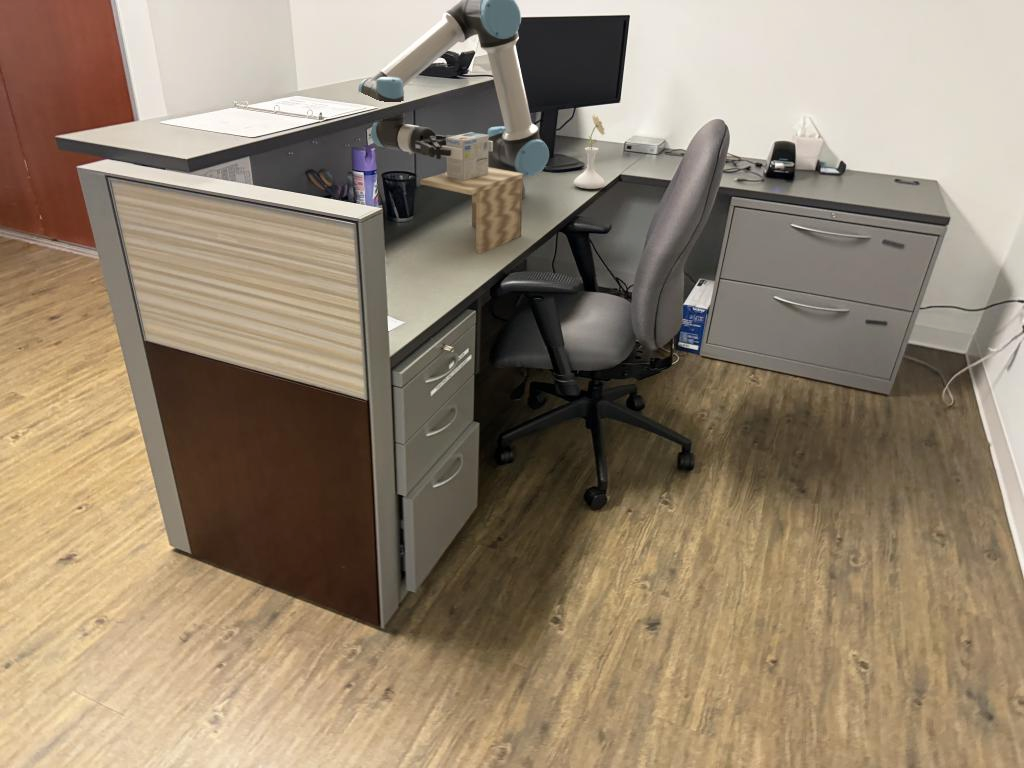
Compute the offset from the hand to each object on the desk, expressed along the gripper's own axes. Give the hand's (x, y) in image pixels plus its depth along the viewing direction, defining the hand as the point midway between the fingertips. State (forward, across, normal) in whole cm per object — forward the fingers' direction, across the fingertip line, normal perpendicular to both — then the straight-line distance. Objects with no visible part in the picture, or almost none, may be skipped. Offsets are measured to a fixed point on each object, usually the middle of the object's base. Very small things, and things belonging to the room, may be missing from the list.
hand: (477, 150), depth 204 cm
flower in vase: (-6, -76, -26) cm, 80 cm away
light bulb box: (-3, 0, -8) cm, 8 cm away
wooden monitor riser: (-2, 0, -25) cm, 26 cm away
